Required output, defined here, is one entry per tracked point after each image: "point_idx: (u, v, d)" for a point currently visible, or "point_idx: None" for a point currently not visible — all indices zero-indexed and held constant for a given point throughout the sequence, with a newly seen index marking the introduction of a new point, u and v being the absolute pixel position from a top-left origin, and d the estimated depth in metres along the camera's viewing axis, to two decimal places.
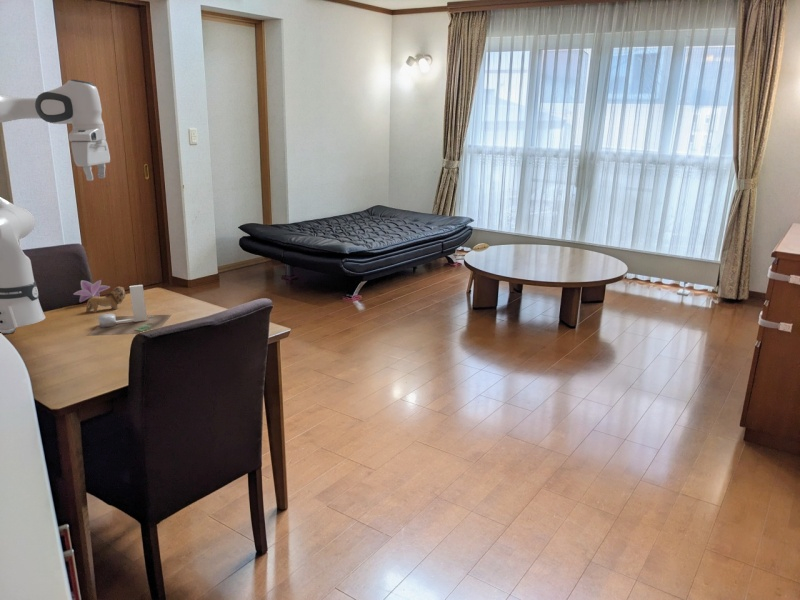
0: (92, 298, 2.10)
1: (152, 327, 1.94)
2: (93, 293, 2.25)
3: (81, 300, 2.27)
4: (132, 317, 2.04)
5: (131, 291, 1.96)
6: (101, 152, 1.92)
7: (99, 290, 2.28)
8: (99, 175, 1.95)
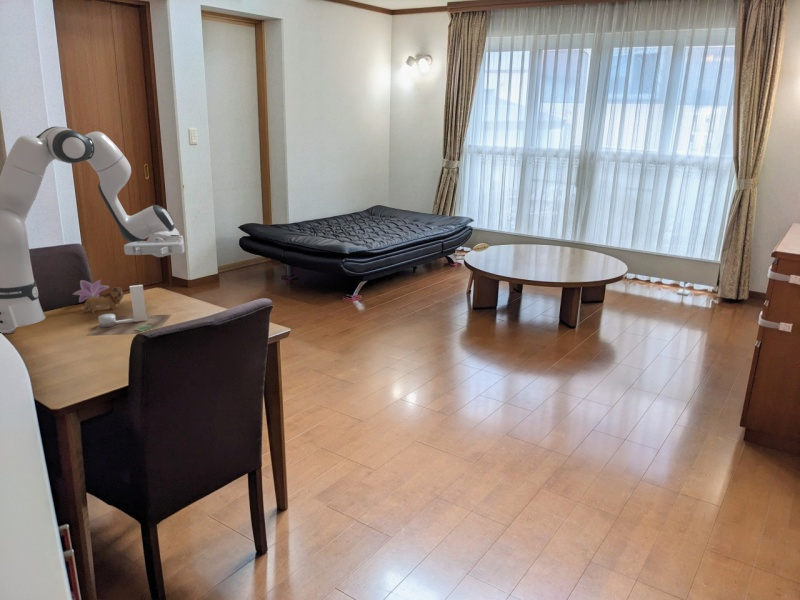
0: (90, 298, 2.10)
1: (152, 327, 1.94)
2: (92, 293, 2.25)
3: (80, 300, 2.27)
4: (132, 317, 2.04)
5: (131, 291, 1.96)
6: None
7: (98, 290, 2.28)
8: (140, 251, 2.08)
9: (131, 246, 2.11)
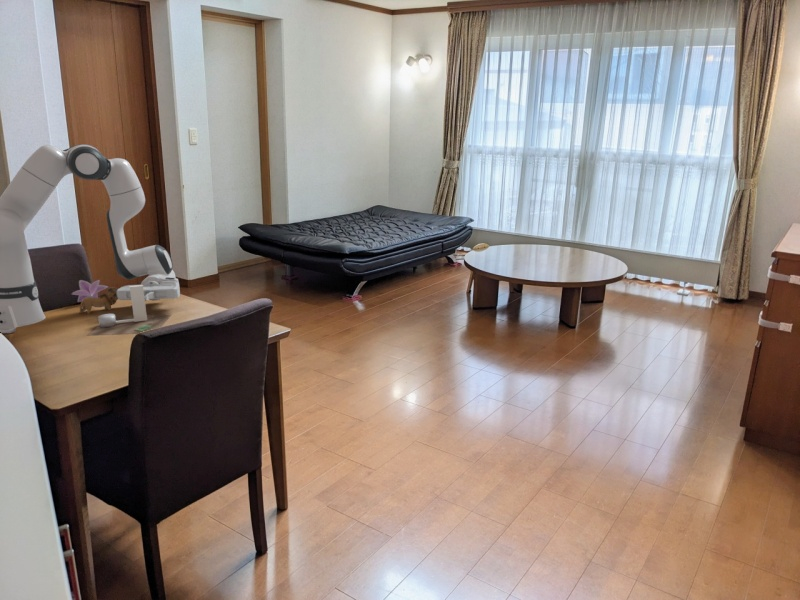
0: (86, 299, 2.09)
1: (152, 327, 1.94)
2: (91, 293, 2.25)
3: (79, 300, 2.27)
4: (132, 317, 2.04)
5: (131, 291, 1.96)
6: None
7: (97, 290, 2.28)
8: None
9: (124, 291, 2.03)
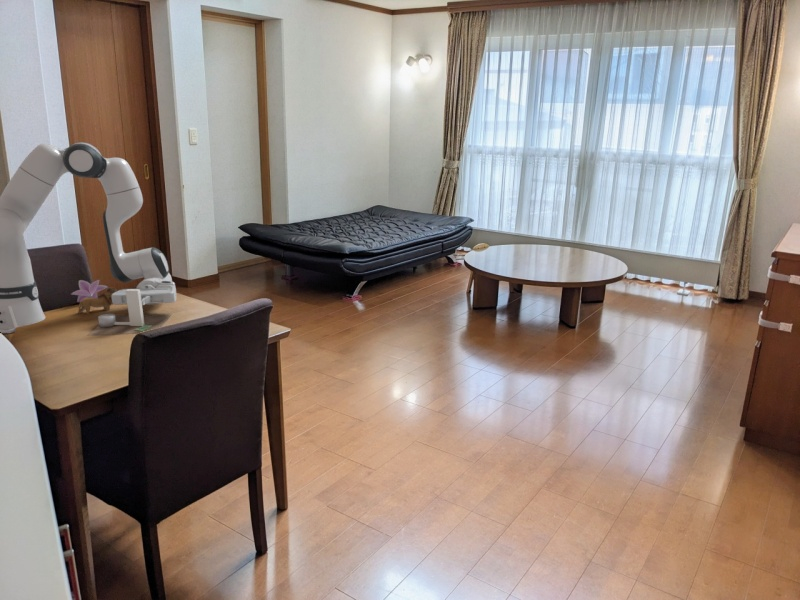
0: (84, 299, 2.08)
1: (152, 327, 1.94)
2: (91, 293, 2.25)
3: (79, 300, 2.27)
4: None
5: (127, 295, 1.92)
6: None
7: (97, 290, 2.28)
8: None
9: (119, 295, 1.98)
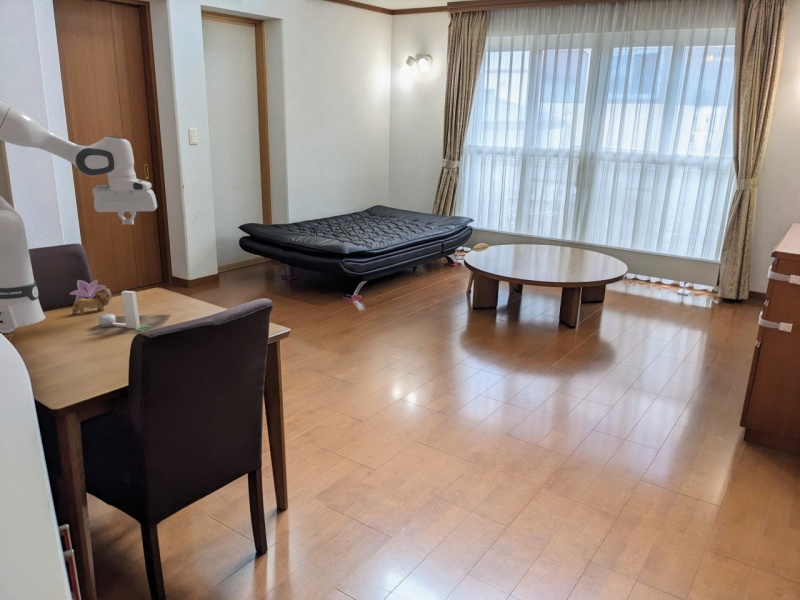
0: (78, 300, 2.07)
1: (152, 327, 1.94)
2: (89, 293, 2.25)
3: None
4: None
5: (123, 296, 1.91)
6: None
7: (95, 290, 2.28)
8: (126, 222, 2.10)
9: (104, 211, 2.07)
